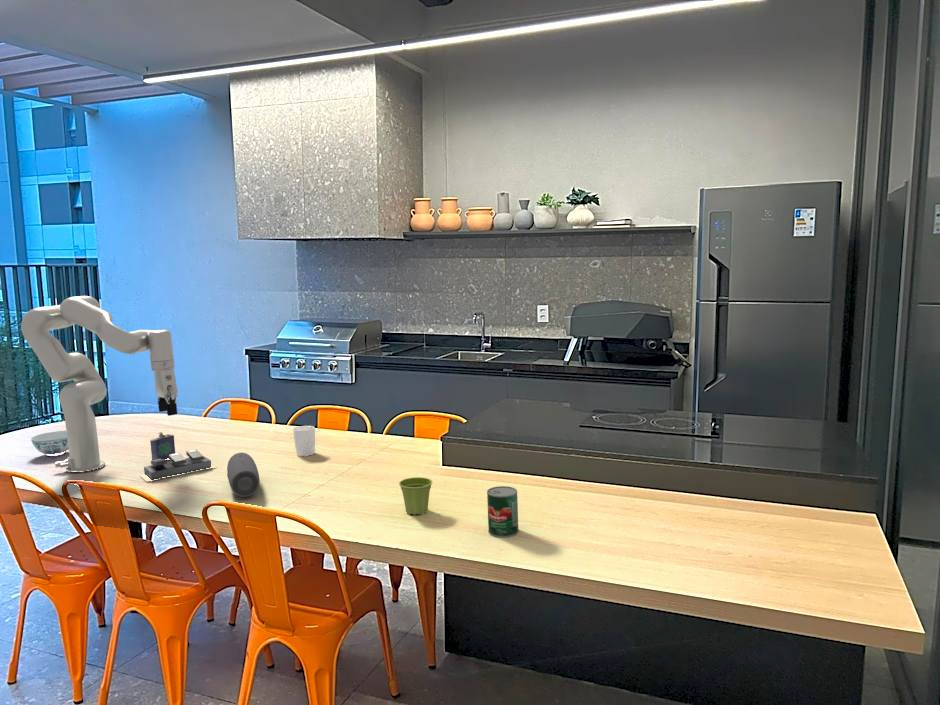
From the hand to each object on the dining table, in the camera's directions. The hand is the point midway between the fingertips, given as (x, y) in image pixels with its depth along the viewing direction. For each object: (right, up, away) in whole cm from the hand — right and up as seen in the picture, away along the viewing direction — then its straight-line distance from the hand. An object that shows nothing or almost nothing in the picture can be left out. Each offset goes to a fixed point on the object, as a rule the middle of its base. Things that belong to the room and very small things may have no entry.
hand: (168, 413), depth 252 cm
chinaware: (-55, -19, +26) cm, 64 cm away
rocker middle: (+5, -16, -3) cm, 17 cm away
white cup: (+45, -17, +14) cm, 50 cm away
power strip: (+5, -20, -3) cm, 21 cm away
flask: (-7, -19, +12) cm, 24 cm away
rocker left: (0, -17, -7) cm, 18 cm away
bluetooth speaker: (+35, -23, -25) cm, 48 cm away
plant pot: (+92, -24, -50) cm, 107 cm away
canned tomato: (+115, -26, -66) cm, 136 cm away
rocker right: (+9, -16, 0) cm, 18 cm away
